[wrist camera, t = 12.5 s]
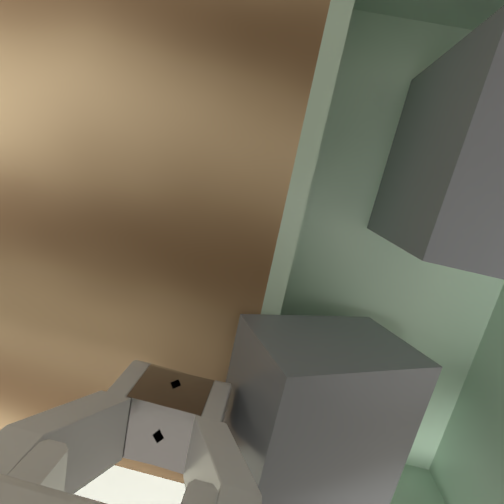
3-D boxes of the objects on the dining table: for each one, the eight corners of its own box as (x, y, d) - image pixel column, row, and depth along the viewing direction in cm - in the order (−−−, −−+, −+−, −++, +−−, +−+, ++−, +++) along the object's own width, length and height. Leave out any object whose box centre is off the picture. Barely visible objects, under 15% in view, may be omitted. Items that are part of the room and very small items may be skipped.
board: (48, -70, 11) (-34, -157, 8) (334, -22, 11) (352, -97, 8) (28, 379, 15) (-33, 425, 13) (233, 431, 15) (220, 493, 12)
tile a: (515, -5, 6) (690, 27, 6) (411, 80, 11) (504, 98, 11) (422, 260, 7) (566, 293, 7) (366, 227, 12) (450, 246, 12)
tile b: (240, 313, 10) (286, 377, 7) (368, 316, 12) (442, 366, 9) (210, 451, 11) (240, 551, 8) (332, 432, 13) (388, 506, 10)
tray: (331, -8, 11) (356, -113, 7) (609, 40, 10) (805, -45, 6) (235, 424, 15) (216, 511, 11) (433, 474, 14) (489, 585, 10)
